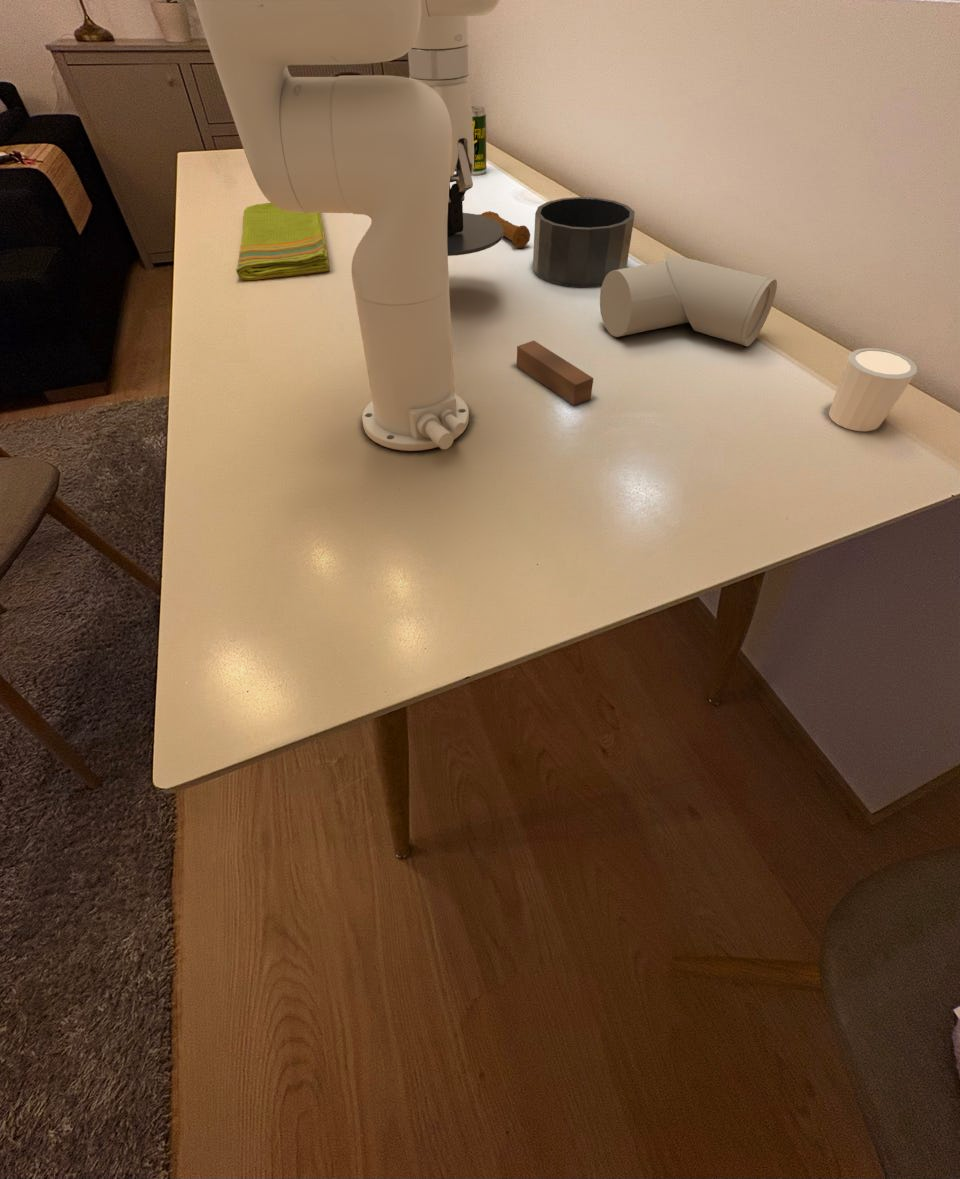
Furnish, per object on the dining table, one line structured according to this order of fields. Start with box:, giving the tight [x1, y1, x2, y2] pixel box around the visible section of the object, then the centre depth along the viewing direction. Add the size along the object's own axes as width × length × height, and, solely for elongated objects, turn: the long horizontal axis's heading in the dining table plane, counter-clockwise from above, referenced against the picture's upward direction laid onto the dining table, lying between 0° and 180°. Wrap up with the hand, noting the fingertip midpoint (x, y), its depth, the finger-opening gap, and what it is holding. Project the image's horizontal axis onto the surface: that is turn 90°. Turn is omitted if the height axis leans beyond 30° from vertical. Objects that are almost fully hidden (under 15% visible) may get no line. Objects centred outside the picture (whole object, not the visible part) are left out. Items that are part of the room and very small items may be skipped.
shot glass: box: [828, 347, 918, 432], centre depth 68 cm, size 7×7×7 cm
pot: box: [532, 196, 636, 288], centre depth 99 cm, size 16×16×8 cm
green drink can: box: [471, 105, 487, 176], centre depth 138 cm, size 5×5×12 cm
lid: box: [447, 212, 504, 257], centre depth 87 cm, size 17×17×6 cm
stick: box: [516, 340, 594, 406], centre depth 76 cm, size 12×3×3 cm, turn 34°
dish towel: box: [235, 202, 330, 281], centre depth 112 cm, size 15×36×3 cm, turn 13°
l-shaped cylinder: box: [599, 252, 778, 347], centre depth 83 cm, size 18×11×20 cm
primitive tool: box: [478, 210, 531, 249], centre depth 114 cm, size 19×6×4 cm, turn 27°
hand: (447, 228), depth 88 cm, fingers closed on lid, 2 cm apart
